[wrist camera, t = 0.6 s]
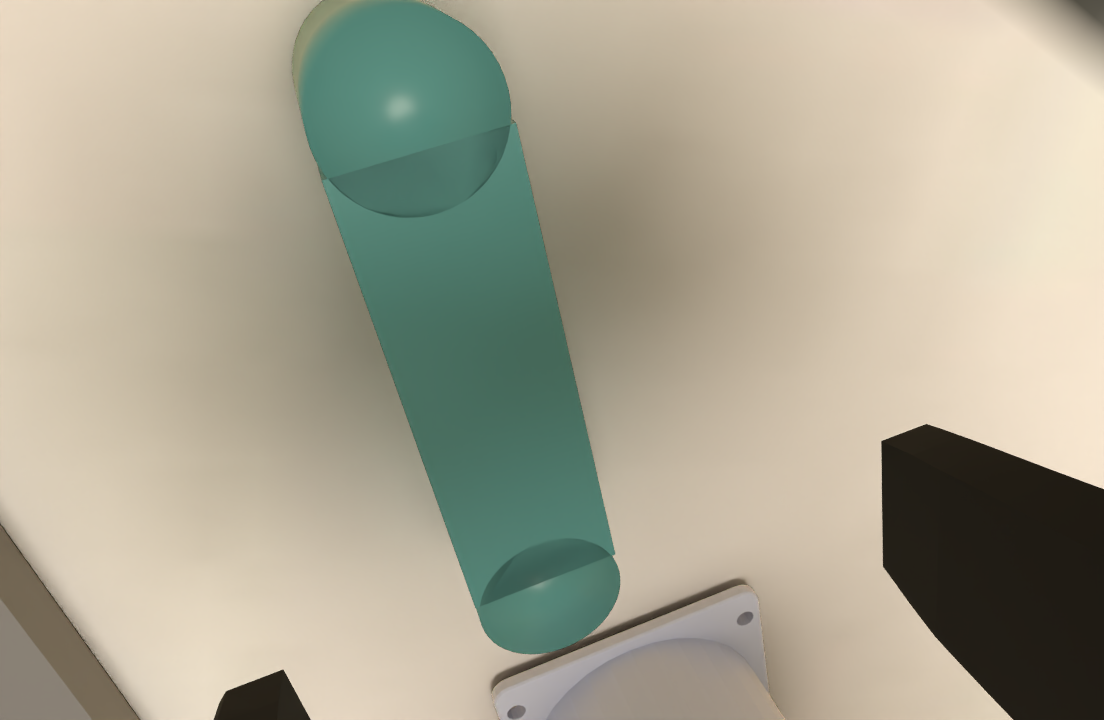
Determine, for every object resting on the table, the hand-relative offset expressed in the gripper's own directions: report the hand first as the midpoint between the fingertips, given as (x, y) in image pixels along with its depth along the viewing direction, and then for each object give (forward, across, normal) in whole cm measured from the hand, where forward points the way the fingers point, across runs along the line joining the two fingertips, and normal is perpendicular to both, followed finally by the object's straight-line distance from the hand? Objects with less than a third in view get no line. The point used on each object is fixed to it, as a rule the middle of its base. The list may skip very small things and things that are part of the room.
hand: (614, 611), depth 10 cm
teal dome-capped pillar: (+10, 0, 0) cm, 10 cm away
